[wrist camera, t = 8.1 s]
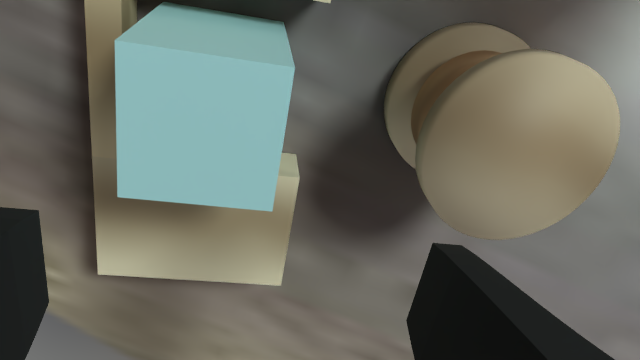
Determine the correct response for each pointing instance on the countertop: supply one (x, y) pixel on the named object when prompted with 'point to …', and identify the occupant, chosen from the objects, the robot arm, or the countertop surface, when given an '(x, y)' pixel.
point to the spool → (500, 129)
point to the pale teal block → (202, 107)
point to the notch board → (169, 217)
